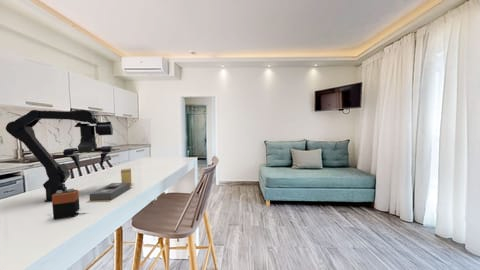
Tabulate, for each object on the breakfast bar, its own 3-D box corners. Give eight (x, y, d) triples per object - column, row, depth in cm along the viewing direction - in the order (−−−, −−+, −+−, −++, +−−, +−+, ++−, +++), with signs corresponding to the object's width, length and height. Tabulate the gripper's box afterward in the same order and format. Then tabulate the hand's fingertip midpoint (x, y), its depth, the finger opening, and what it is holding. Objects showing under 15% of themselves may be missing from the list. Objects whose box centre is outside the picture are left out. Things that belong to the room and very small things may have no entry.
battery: (75, 216, 77) (74, 190, 76) (52, 220, 75) (50, 192, 74) (80, 212, 81) (78, 186, 81) (58, 215, 79) (56, 189, 78)
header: (85, 206, 87) (84, 195, 87) (113, 190, 107) (113, 181, 107) (109, 205, 87) (108, 194, 87) (133, 190, 107) (132, 181, 107)
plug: (121, 190, 108) (120, 170, 107) (122, 188, 111) (121, 169, 111) (131, 188, 110) (130, 169, 109) (131, 186, 113) (130, 168, 113)
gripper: (56, 138, 90) (59, 173, 91) (107, 135, 97) (109, 168, 98) (66, 137, 100) (69, 169, 101) (111, 134, 107) (113, 164, 108)
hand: (90, 167), depth 102 cm, fingers open, 9 cm apart
